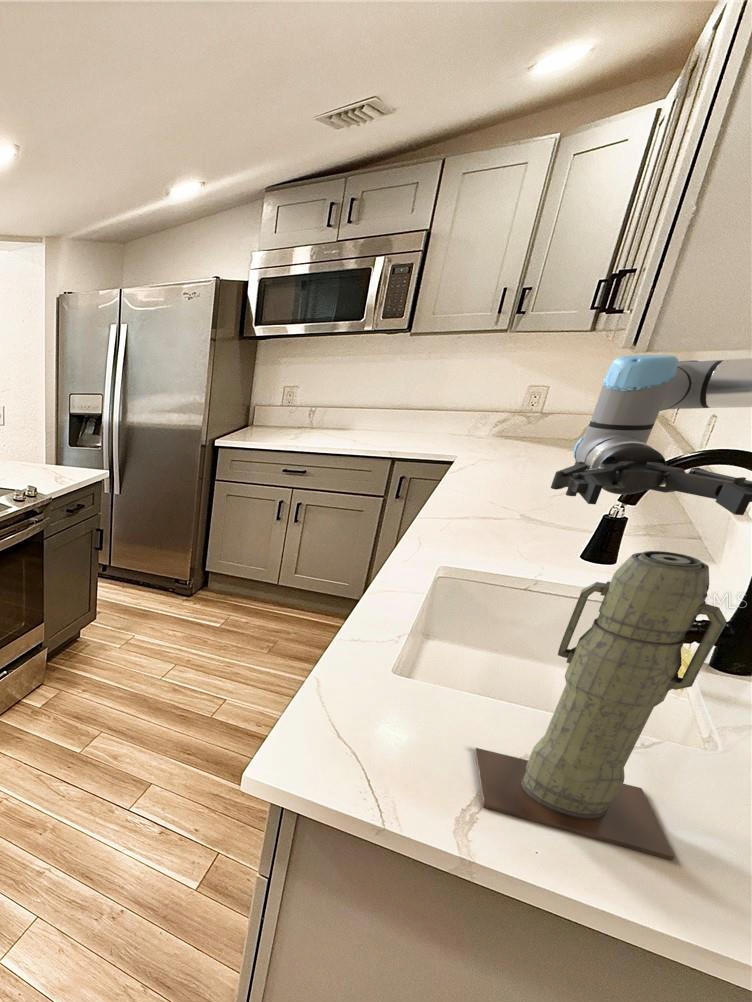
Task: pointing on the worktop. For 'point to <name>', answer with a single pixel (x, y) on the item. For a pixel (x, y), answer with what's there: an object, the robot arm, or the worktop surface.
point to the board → (620, 825)
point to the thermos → (619, 678)
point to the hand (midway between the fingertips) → (666, 499)
